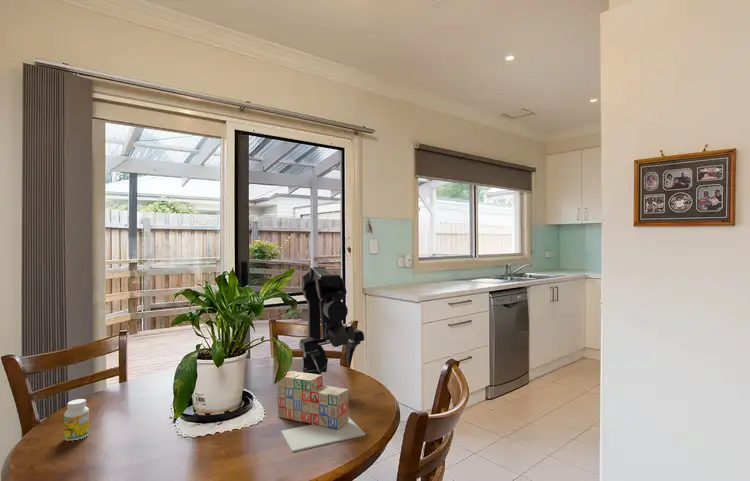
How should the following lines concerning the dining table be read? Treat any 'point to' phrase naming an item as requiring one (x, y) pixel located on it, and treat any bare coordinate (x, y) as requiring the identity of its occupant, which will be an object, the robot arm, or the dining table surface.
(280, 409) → the stack of blocks
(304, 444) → the rubber mat
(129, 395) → the dining table surface
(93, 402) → the dining table surface
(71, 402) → the supplement bottle
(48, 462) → the dining table surface
